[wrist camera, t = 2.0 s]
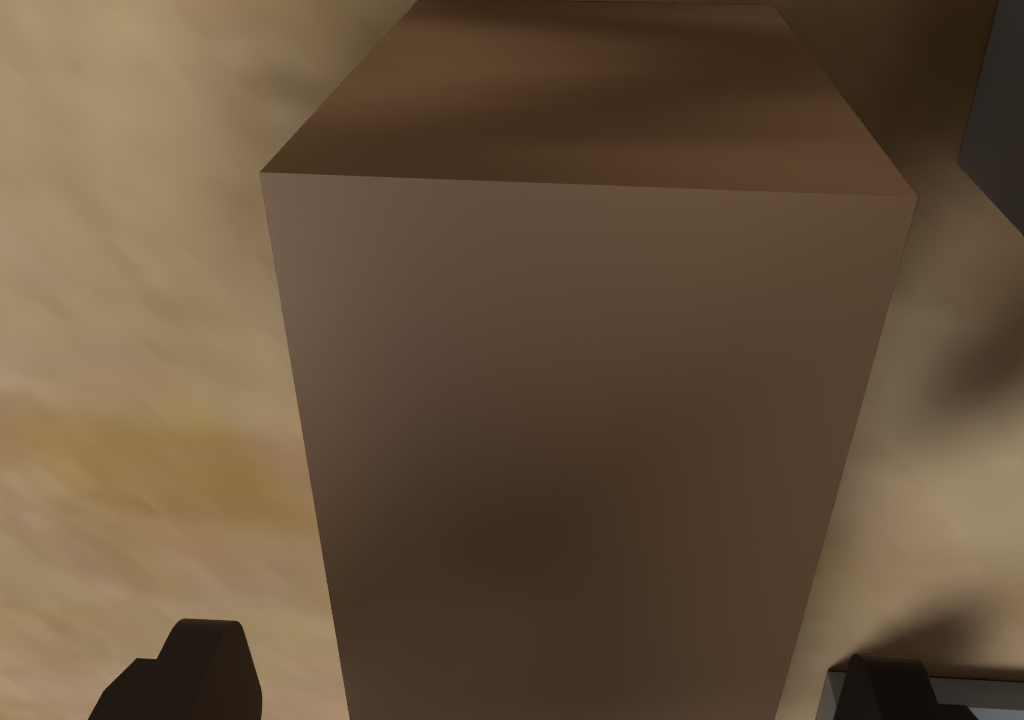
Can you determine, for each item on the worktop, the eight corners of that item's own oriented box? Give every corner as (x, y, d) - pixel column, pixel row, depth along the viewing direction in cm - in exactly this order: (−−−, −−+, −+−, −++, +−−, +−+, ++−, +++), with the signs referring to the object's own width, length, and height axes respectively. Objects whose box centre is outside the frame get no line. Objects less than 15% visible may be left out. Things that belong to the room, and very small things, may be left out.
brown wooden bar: (770, 2, 10) (918, 197, 5) (650, 771, 19) (664, 1118, 14) (423, -6, 11) (259, 171, 6) (461, 754, 19) (410, 1087, 14)
